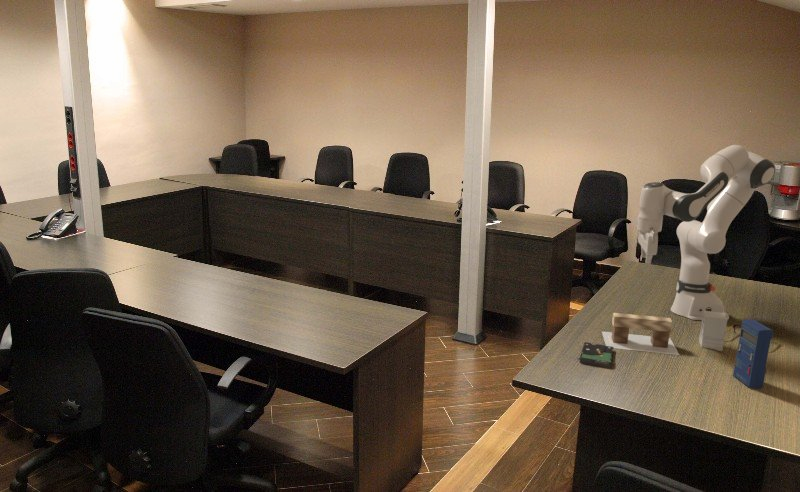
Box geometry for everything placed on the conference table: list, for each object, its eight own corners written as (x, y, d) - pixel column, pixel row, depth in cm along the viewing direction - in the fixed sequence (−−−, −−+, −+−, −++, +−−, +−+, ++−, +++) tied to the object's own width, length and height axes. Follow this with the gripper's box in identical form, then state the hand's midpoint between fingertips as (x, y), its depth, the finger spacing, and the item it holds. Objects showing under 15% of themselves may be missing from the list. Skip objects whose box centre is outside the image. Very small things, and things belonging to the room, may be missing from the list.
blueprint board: (669, 339, 240) (670, 338, 240) (679, 356, 225) (679, 354, 224) (601, 332, 244) (601, 331, 244) (606, 348, 229) (606, 347, 229)
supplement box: (719, 344, 237) (725, 312, 234) (722, 352, 230) (727, 319, 227) (698, 341, 239) (703, 309, 236) (700, 348, 232) (705, 316, 229)
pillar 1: (625, 338, 238) (627, 323, 236) (627, 343, 233) (629, 328, 231) (611, 337, 238) (613, 322, 237) (613, 342, 234) (615, 327, 232)
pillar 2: (664, 342, 235) (666, 327, 233) (667, 348, 230) (669, 332, 229) (650, 341, 236) (652, 326, 234) (653, 346, 231) (655, 331, 230)
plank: (668, 328, 233) (669, 318, 232) (670, 332, 229) (672, 321, 228) (611, 322, 237) (613, 312, 236) (613, 326, 233) (614, 316, 232)
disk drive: (583, 348, 230) (579, 364, 217) (583, 341, 230) (579, 356, 216) (612, 353, 227) (610, 369, 213) (613, 346, 226) (611, 362, 212)
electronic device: (731, 375, 210) (741, 319, 206) (745, 375, 211) (756, 319, 206) (748, 388, 201) (759, 330, 196) (764, 388, 202) (775, 330, 197)
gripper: (663, 231, 230) (659, 268, 233) (653, 220, 249) (649, 254, 253) (645, 231, 231) (641, 267, 234) (636, 219, 250) (633, 253, 254)
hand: (645, 260), depth 244 cm, fingers open, 8 cm apart
